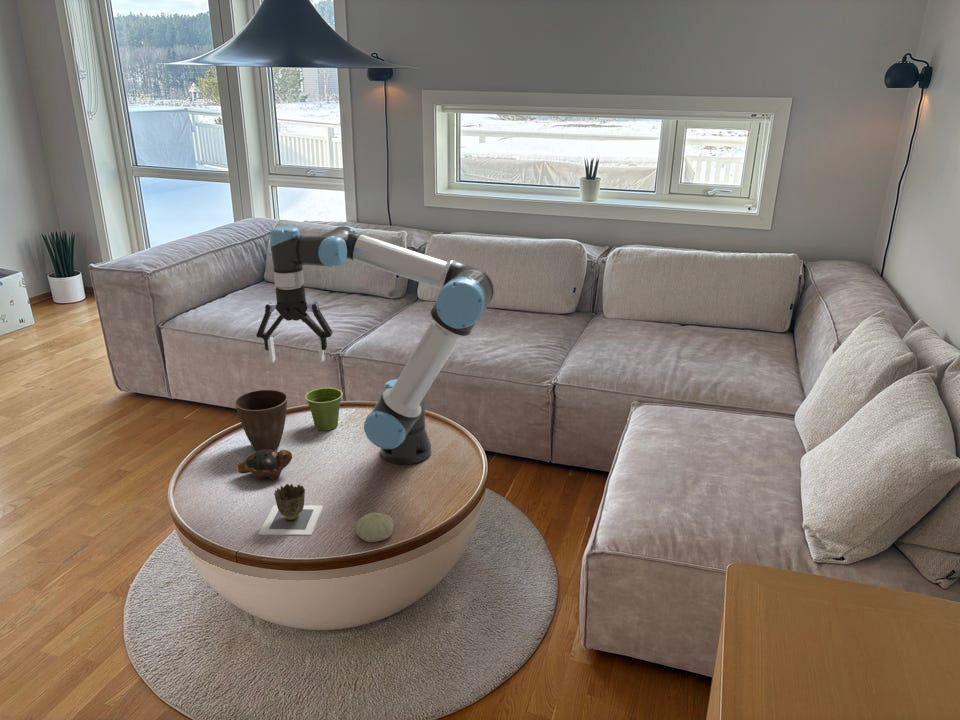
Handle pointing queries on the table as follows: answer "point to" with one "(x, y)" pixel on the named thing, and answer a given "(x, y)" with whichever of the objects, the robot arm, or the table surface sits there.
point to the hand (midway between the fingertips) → (297, 361)
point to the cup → (290, 501)
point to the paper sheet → (291, 522)
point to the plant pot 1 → (263, 417)
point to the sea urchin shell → (374, 527)
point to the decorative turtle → (265, 463)
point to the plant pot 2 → (324, 407)
